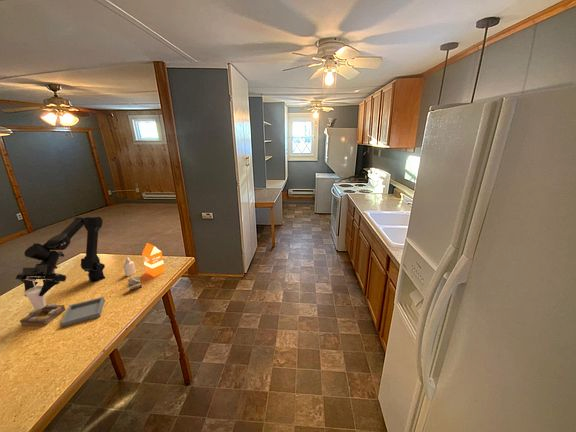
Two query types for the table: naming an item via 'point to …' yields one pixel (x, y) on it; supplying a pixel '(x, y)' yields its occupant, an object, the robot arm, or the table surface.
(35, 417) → the table surface
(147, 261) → the orange juice
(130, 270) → the eye dropper bottle
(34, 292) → the smoothie
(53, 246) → the robot arm
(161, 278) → the table surface
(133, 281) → the architectural model
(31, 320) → the clip collar
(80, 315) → the tray
